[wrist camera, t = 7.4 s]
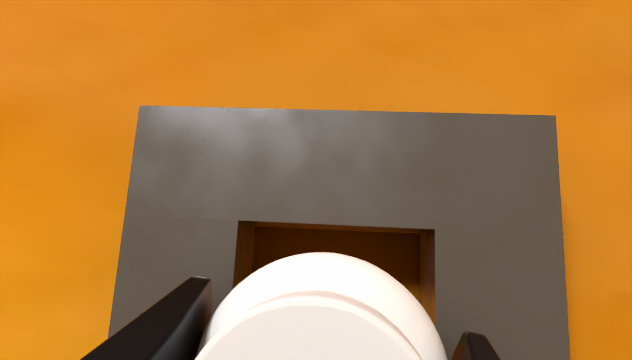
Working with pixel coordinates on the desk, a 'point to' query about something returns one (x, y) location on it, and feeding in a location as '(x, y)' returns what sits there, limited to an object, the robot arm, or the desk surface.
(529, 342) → the socket block
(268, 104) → the desk surface
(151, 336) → the robot arm
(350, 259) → the supplement bottle
